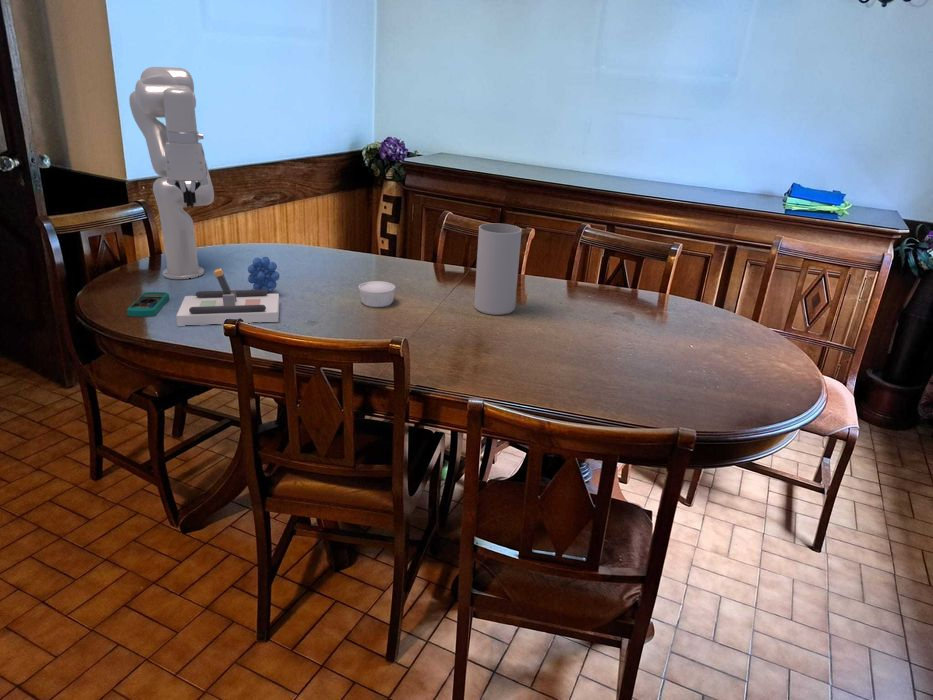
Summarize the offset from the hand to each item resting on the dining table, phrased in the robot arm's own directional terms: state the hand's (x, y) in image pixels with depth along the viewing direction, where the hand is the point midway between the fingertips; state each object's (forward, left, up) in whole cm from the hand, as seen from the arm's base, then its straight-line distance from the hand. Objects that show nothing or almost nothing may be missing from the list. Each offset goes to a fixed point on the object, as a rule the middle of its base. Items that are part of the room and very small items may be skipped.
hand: (190, 205), depth 183 cm
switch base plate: (+13, +9, -28) cm, 32 cm away
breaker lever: (+13, +10, -24) cm, 29 cm away
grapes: (-5, +19, -28) cm, 34 cm away
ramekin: (+7, +51, -28) cm, 59 cm away
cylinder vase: (+16, +87, -28) cm, 92 cm away
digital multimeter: (+6, -13, -29) cm, 32 cm away
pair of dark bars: (+13, +9, -25) cm, 30 cm away
